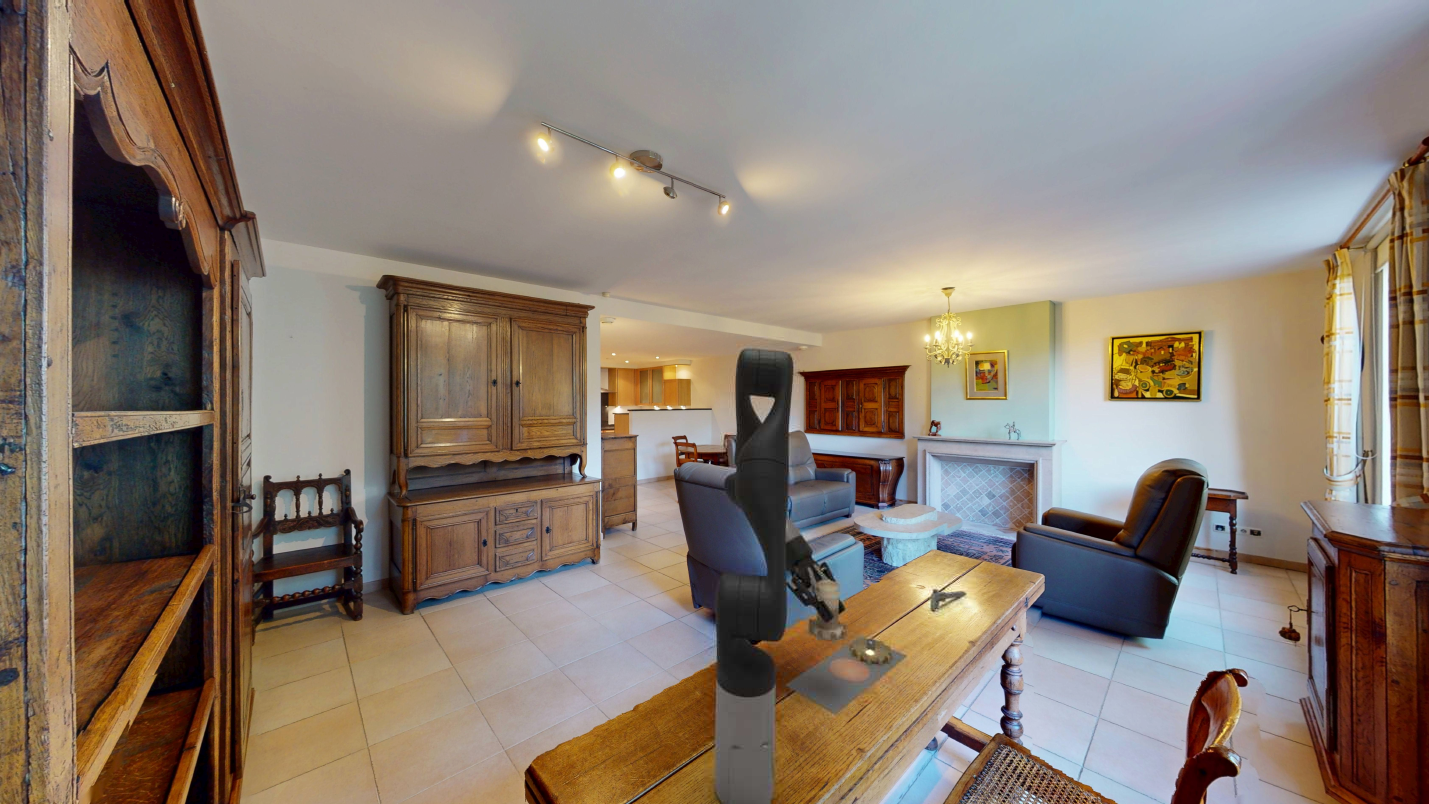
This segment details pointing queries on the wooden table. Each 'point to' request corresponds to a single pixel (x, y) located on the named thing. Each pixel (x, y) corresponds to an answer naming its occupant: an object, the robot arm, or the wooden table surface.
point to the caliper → (943, 597)
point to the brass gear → (871, 651)
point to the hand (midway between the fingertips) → (836, 615)
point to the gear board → (840, 678)
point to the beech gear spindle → (831, 599)
